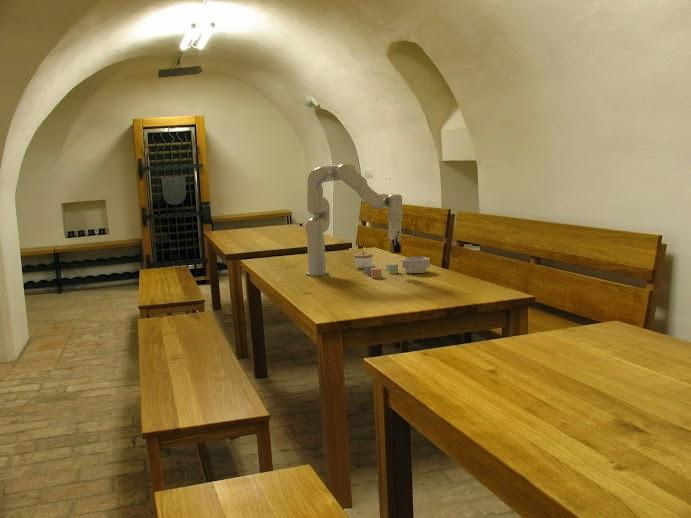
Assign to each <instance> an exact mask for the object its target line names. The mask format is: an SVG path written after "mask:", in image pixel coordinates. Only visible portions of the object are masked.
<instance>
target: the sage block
mask: <svg viewBox="0 0 691 518" xmlns="http://www.w3.org/2000/svg"><path fill="white" fill-rule="evenodd" d="M385 266H386V269H385V270H386V273H387V272H388V273H387V274H389V273H394V274H399V264H398V263H397V262H391V263H386V264H385Z"/></svg>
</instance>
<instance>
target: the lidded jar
mask: <svg viewBox="0 0 691 518" xmlns="http://www.w3.org/2000/svg"><path fill="white" fill-rule="evenodd" d="M353 257H354V258H353V259H354V264H355V266H356V267H357V268H358V269H359V268H361V269H362V268H363V265H373V264H372V263H373V254H372V253H370V252H369V253H365V251H362V252H361V253H356V254H354V255H353ZM361 269H360V270H361ZM362 270H363V269H362Z"/></svg>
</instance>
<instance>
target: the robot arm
mask: <svg viewBox="0 0 691 518" xmlns="http://www.w3.org/2000/svg"><path fill="white" fill-rule="evenodd" d="M306 181H307V182H306V183H307V184H306V185H307V191H306V192H307V194H306V197H307V201H306V203H307V205H306V208H307V211H308V213H309V214H310V215H313V217H310V218H309V219H308V220H307V221H306V223H305V227H304V228H305V229H304V230H305V233H306V234H305V235H306V242H307V243H306V244H307V264H308V269H307V270H308V271H306V272H305V275H306V276H309V275H310V276H311V277H312V276H313V277H315V276H316V277H318V276H319V275H321V276H327V275H329V271H328V270H326V269H327V268H326V247H325V245H326V244H325V237H324V233H325V232H327V230H329V229H330V228H329V227H330V223H331V221H330V219H331V216H330V215H331V214H330V211H331V209H330V208H331V207H330V203H329V201H328V199H327V198H326V197H324V187H323V183H327V182H333V181H342V182H343V183H344V184H346V185H347V186H348V187H350V188H351V189H352V190H353V191H355V193H356V194H357V195H358V196H359V197H360V198H361V199H362V200H363V201H364V203H366V204H368V205H369V206H371V208H373V209H375V210H382V209H385V208H387V217H388V239H390V243H395V245H394V253H395V254H401V253H400V243H401V240H402V236H403V235H402V229H403V228H402V221H403V196H402V195H401V194H397V193H396V194H387V193H377V191H374V190H373V189H372V188H371V187H370V186H369V184H368V181H367V178H365V177H364V176H363V175H361V174H360V173H359V172H358V171H357V169H356V167H355V166H354V165H353V164H352V163H342V164H334V165H323V166H322V165H321V166H318V167H316V168H313V170H311V171H310V172H309V174H308V176H307V180H306ZM326 274H327V275H326ZM319 277H320V276H319Z"/></svg>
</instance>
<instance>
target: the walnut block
mask: <svg viewBox="0 0 691 518" xmlns="http://www.w3.org/2000/svg"><path fill="white" fill-rule="evenodd" d="M402 244H403V243H401V242H400V253H399V254H402V252H403V251H402V250H403V249H402V248H403V247H402ZM394 245H395V243H391V242H389V252H390V254H396V253H394Z"/></svg>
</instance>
